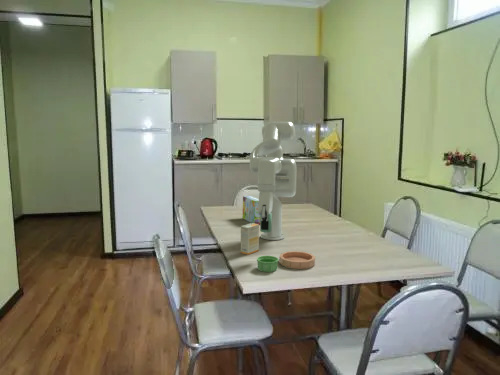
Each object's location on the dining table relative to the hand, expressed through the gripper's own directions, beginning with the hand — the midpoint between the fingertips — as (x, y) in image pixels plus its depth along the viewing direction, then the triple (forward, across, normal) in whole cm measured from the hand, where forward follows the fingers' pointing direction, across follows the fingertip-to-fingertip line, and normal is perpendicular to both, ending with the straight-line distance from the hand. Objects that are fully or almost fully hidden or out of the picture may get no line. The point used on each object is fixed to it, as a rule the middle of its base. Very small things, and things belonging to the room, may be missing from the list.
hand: (265, 227), depth 180 cm
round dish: (+14, +3, +15) cm, 21 cm away
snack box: (+16, -71, -22) cm, 76 cm away
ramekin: (+14, +14, +3) cm, 20 cm away
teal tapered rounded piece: (+2, 0, 0) cm, 2 cm away
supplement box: (+15, -7, -9) cm, 18 cm away
